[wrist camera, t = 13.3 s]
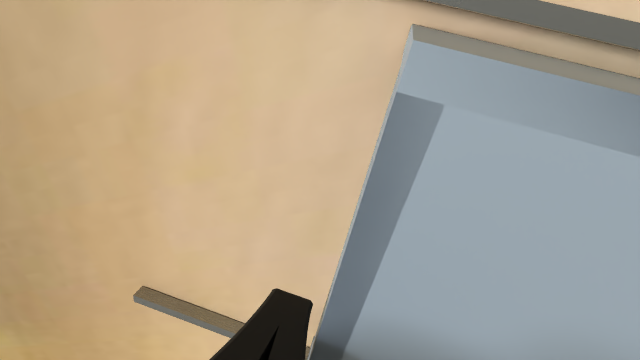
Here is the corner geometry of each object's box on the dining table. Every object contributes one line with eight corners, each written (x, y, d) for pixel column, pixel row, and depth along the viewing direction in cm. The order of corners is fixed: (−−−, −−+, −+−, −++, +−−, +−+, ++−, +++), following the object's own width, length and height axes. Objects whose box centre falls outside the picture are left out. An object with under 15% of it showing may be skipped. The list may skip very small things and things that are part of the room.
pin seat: (477, 416, 19) (488, 480, 16) (143, 292, 21) (106, 330, 19) (803, 61, 9) (962, 83, 6) (101, -95, 11) (10, -125, 9)
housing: (480, 406, 18) (512, 586, 13) (311, 344, 19) (270, 483, 14) (750, 105, 9) (1264, 250, 4) (412, 23, 11) (413, 39, 5)
